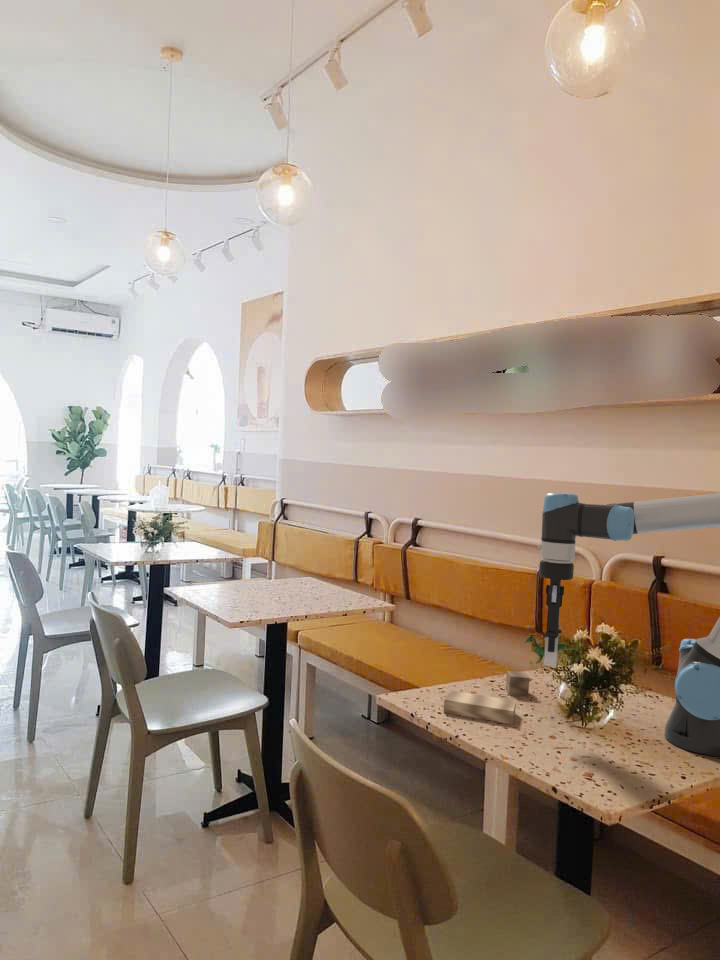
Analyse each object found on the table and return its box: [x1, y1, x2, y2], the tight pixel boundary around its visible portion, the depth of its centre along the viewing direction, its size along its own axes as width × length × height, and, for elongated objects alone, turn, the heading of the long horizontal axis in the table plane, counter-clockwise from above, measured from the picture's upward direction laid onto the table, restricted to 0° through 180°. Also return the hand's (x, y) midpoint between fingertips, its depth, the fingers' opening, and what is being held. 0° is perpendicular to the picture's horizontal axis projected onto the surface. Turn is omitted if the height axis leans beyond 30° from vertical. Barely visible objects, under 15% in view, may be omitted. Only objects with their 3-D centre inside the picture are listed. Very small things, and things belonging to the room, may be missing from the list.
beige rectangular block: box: [443, 689, 517, 725], centre depth 169 cm, size 16×8×3 cm, turn 73°
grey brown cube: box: [505, 670, 530, 697], centre depth 187 cm, size 5×5×5 cm
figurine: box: [524, 632, 580, 664], centre depth 161 cm, size 3×12×8 cm, turn 66°
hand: (550, 663), depth 161 cm, fingers closed on figurine, 3 cm apart
